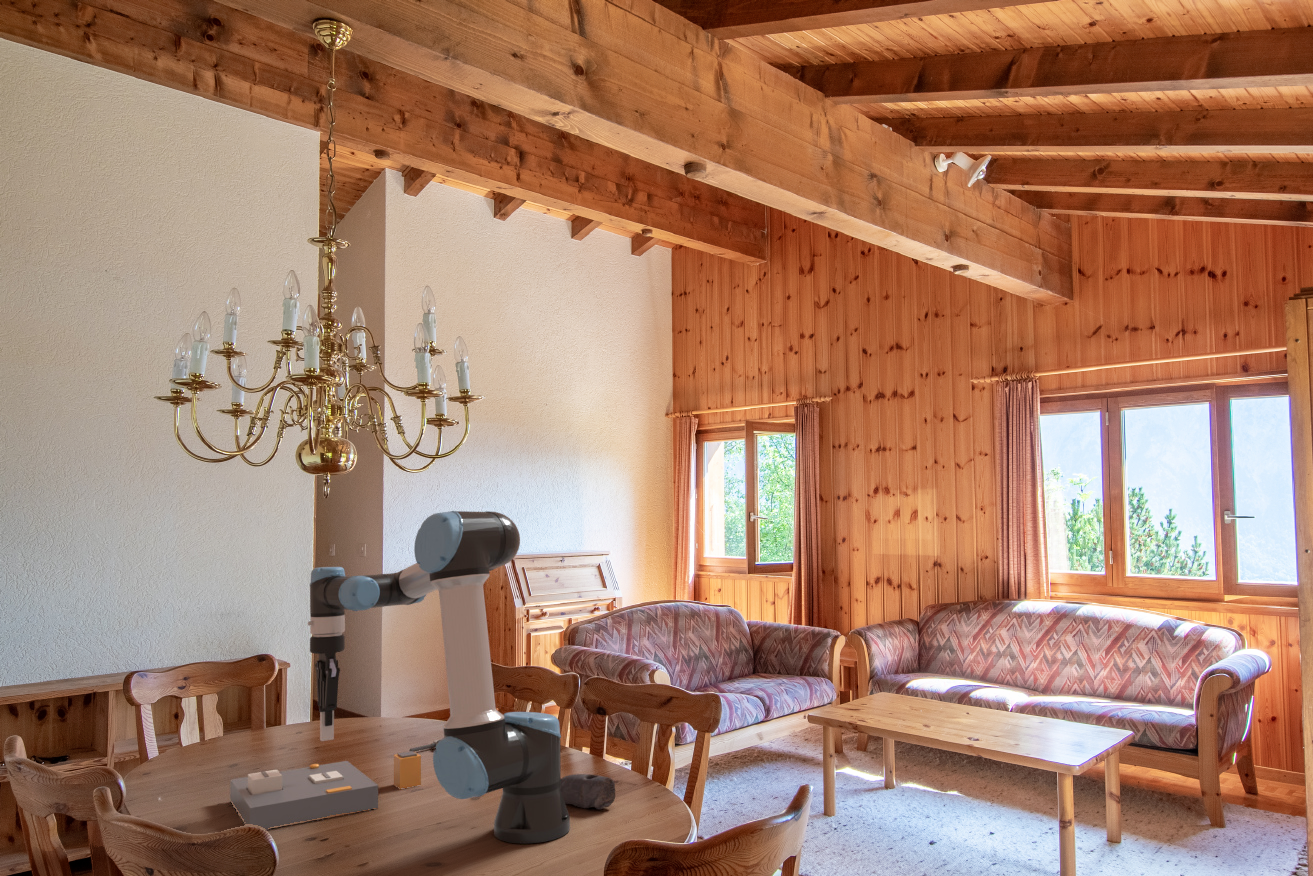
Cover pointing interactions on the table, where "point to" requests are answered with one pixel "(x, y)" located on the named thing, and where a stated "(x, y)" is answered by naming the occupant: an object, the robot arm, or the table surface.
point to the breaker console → (305, 796)
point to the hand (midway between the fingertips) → (326, 739)
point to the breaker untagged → (264, 782)
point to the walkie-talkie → (425, 746)
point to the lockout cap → (407, 769)
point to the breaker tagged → (325, 777)
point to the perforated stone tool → (588, 790)
